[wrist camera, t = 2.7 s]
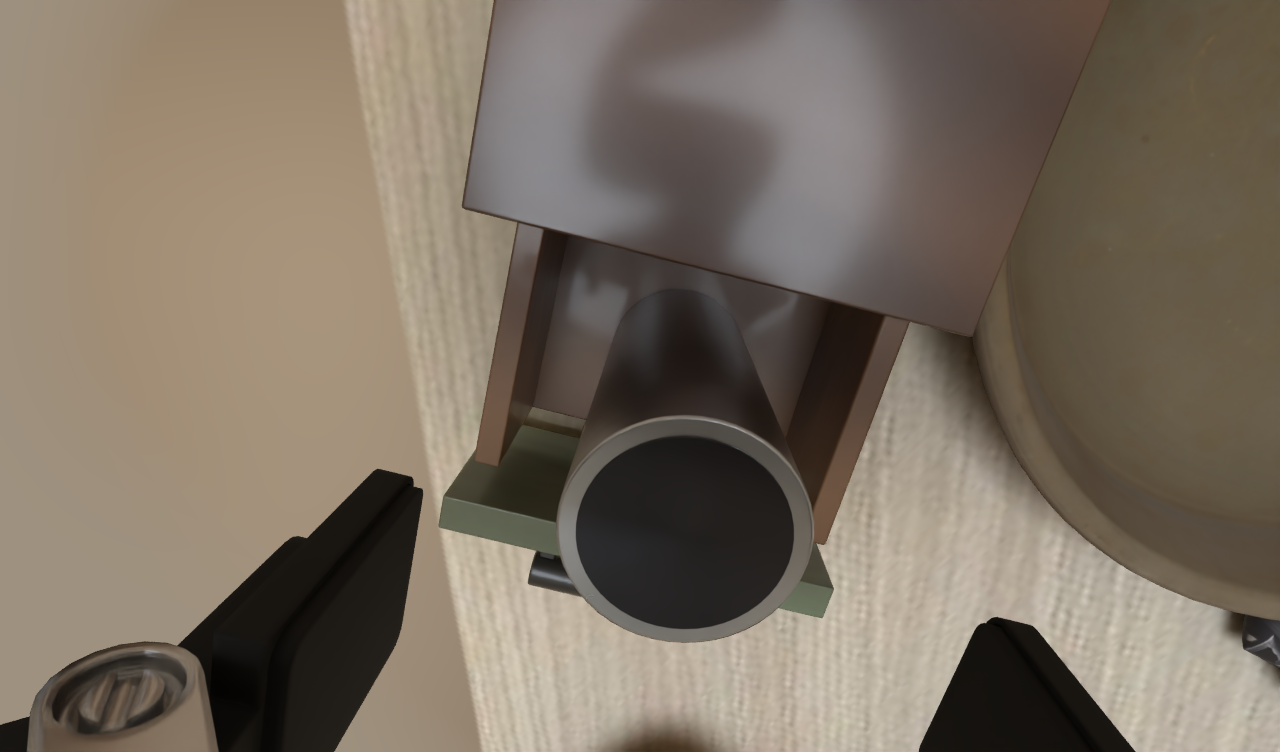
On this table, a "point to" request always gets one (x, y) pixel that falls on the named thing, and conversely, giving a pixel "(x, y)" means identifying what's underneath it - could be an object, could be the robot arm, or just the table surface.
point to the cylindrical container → (683, 481)
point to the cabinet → (784, 136)
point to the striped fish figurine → (1262, 638)
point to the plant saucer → (1156, 303)
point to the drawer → (574, 360)
